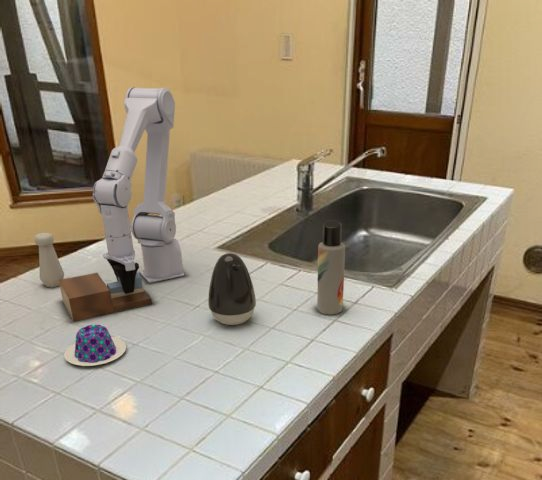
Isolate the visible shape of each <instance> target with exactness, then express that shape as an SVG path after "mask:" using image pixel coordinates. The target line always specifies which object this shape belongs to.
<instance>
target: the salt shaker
mask: <svg viewBox="0 0 542 480" xmlns="http://www.w3.org/2000/svg"><path fill="white" fill-rule="evenodd" d="M54 240H55V239H54V236H53V234H52V233H50V232H40V233H37V234H35V236H34V243H35V245H36V246H38V258H39V259H38V260H39V263H38V265H39V279H40V281H41V282H42V283H43V284H44V285H45V287H46V288H56V287H60V285H59V280H62V279H65V278H64V277H65V272H64V270H63V267H62V265H61V262H60V260H59V257H58V255H57V252H56V250H55V248H54V244H53V243H54V242H55V241H54Z"/></svg>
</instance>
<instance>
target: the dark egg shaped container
mask: <svg viewBox="0 0 542 480" xmlns="http://www.w3.org/2000/svg"><path fill="white" fill-rule="evenodd" d="M210 277H211V278H210V283H209V289H208V298H207V299H208V300H207V303H208V308H209V310H210V312H211V315H212V316H213V317H214V319H215V320H216V321H217V322H219V323H220V324H223V325H227V326H237V325H241V324H243V323H245V322H247V321H248V320H249V319H250V318H251V317H252V316H253V314H254V312H255V308H256V306H257V299H256V293H255V288H254V283H253V281H252V278H251V275H250V272H249V270H248V267H247V265H246V264H245V262H244V261H243V259H242V258H241V256H239V255H238V254H236V253H233V252H227V253H223V254H222V255H221V256H219V257H218V259H217V260H216V262H215V264H214V267H213V270H212V273H211V276H210Z"/></svg>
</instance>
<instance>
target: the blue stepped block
mask: <svg viewBox="0 0 542 480" xmlns="http://www.w3.org/2000/svg"><path fill="white" fill-rule="evenodd" d="M117 278H118V281H114V282H108V283H106V285H107V287H108V288H109V290H110V293H111V298H116V297H121V296H126V295H130V294H135V293H140V292H144V290H145V288H144V286H143V282H142V281H143V279H142V277H141V275H139V273H138V272H137V273H136V277H135V287H134V292H132V293H128V294H125V293H124V291H123V288H122V285H121V282H120V279H119V277H117ZM117 278H116V279H117Z"/></svg>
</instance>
